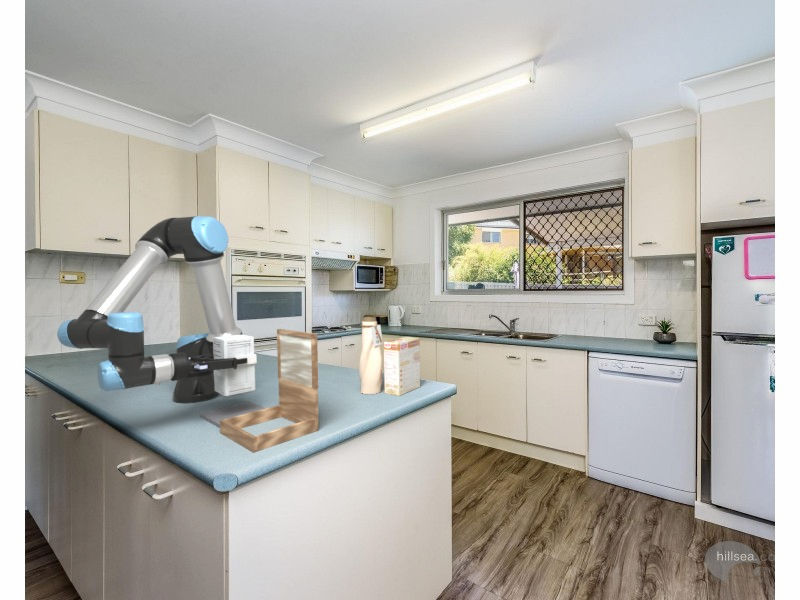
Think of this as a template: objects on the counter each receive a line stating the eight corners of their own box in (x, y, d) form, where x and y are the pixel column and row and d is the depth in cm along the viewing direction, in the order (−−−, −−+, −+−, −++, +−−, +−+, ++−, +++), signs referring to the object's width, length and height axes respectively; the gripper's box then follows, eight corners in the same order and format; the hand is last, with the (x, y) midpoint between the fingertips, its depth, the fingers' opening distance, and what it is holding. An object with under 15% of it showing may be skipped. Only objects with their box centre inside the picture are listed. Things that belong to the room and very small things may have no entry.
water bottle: (390, 390, 147) (389, 317, 146) (376, 396, 140) (375, 319, 139) (368, 387, 153) (367, 316, 152) (354, 392, 145) (352, 318, 144)
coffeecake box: (405, 384, 156) (405, 336, 156) (421, 387, 152) (420, 337, 152) (383, 393, 144) (382, 341, 143) (399, 396, 140) (398, 342, 139)
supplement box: (244, 385, 127) (243, 334, 126) (256, 390, 120) (255, 336, 120) (213, 391, 120) (212, 336, 120) (224, 396, 113) (223, 339, 113)
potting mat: (221, 429, 110) (221, 425, 110) (199, 416, 121) (199, 413, 121) (273, 414, 122) (273, 411, 121) (249, 404, 132) (249, 401, 132)
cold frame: (253, 452, 94) (250, 341, 93) (220, 432, 107) (217, 335, 106) (319, 430, 108) (317, 333, 107) (282, 415, 121) (280, 329, 120)
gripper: (157, 375, 114) (233, 364, 131) (184, 387, 99) (265, 373, 116) (156, 350, 114) (232, 342, 130) (183, 358, 99) (265, 348, 116)
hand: (248, 356), depth 123 cm, fingers closed on supplement box, 9 cm apart
